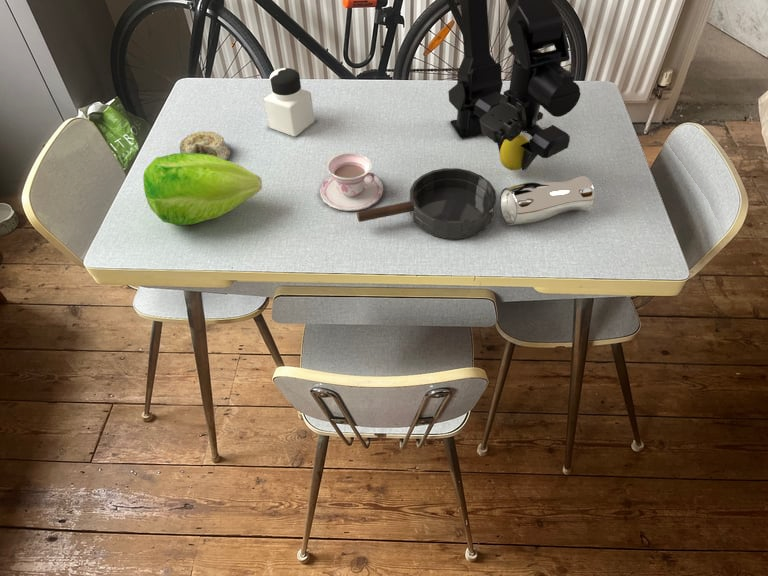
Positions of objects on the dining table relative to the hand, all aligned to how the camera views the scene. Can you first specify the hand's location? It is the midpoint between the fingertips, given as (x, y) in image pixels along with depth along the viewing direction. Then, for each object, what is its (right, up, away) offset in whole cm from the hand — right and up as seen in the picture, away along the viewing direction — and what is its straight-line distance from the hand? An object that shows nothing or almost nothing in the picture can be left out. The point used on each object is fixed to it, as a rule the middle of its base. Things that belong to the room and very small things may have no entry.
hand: (513, 162), depth 110 cm
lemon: (0, -1, +1) cm, 2 cm away
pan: (-12, -10, -5) cm, 17 cm away
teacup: (-31, -6, -1) cm, 31 cm away
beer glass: (+11, -7, -7) cm, 15 cm away
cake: (-61, +3, +8) cm, 62 cm away
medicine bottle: (-45, +11, +15) cm, 48 cm away
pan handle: (-24, -11, -9) cm, 28 cm away
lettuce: (-56, -11, -4) cm, 58 cm away
